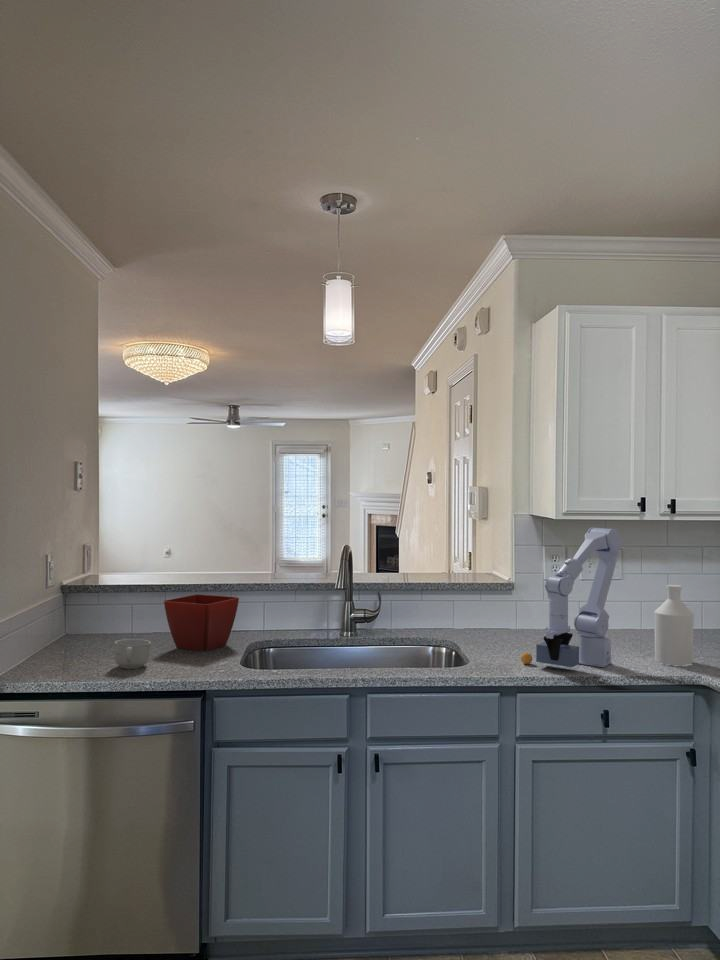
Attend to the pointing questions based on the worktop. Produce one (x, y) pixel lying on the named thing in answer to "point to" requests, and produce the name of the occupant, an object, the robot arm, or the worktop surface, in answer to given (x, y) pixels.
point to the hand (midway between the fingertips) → (558, 658)
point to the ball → (526, 658)
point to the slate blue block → (566, 655)
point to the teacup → (131, 653)
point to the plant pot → (201, 620)
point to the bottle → (673, 630)
